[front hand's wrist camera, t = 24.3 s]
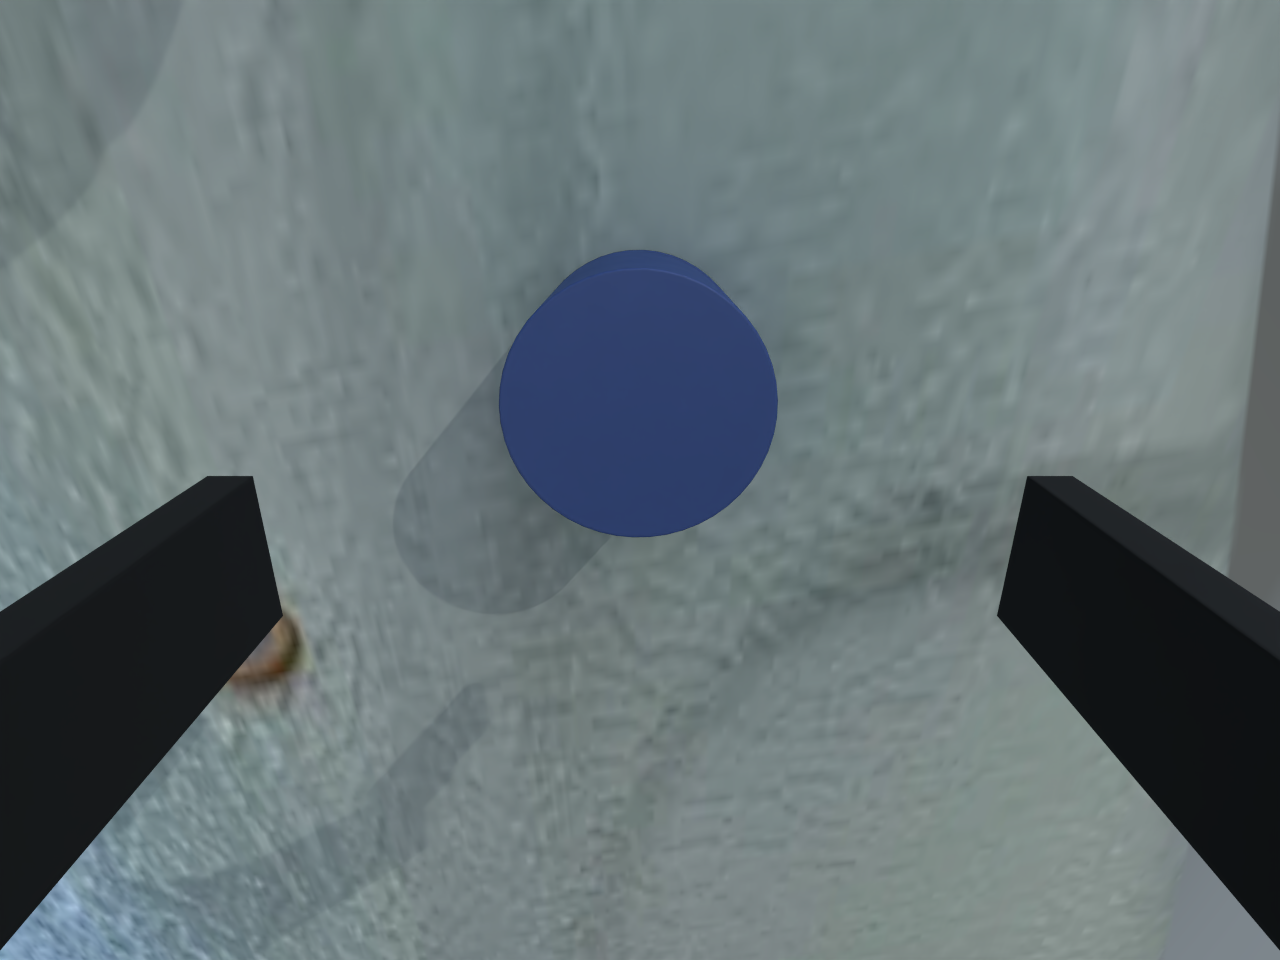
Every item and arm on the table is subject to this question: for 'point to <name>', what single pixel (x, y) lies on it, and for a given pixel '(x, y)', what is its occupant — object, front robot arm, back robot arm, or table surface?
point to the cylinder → (638, 397)
